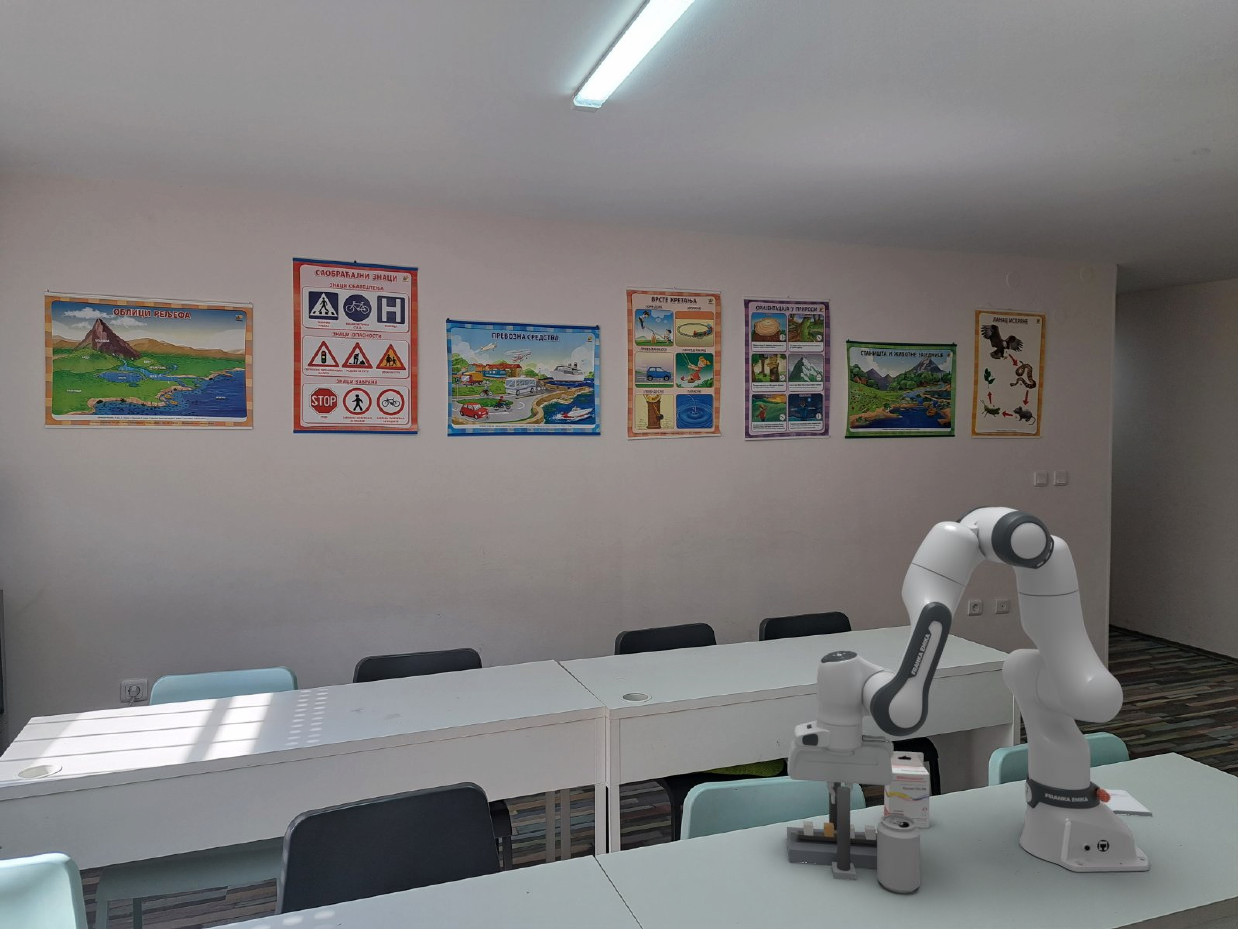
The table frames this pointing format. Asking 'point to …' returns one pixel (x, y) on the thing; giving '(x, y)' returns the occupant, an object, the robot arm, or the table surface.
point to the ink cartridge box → (908, 789)
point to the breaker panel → (828, 850)
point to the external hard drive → (1125, 804)
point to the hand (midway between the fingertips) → (839, 803)
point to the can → (898, 853)
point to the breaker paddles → (831, 836)
